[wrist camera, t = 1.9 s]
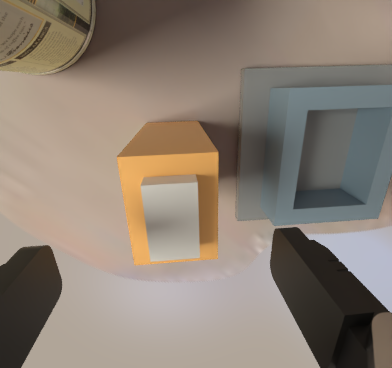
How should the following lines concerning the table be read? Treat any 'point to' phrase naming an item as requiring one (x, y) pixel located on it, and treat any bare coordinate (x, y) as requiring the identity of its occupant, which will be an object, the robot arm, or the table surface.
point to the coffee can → (44, 34)
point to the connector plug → (171, 193)
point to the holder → (314, 143)
